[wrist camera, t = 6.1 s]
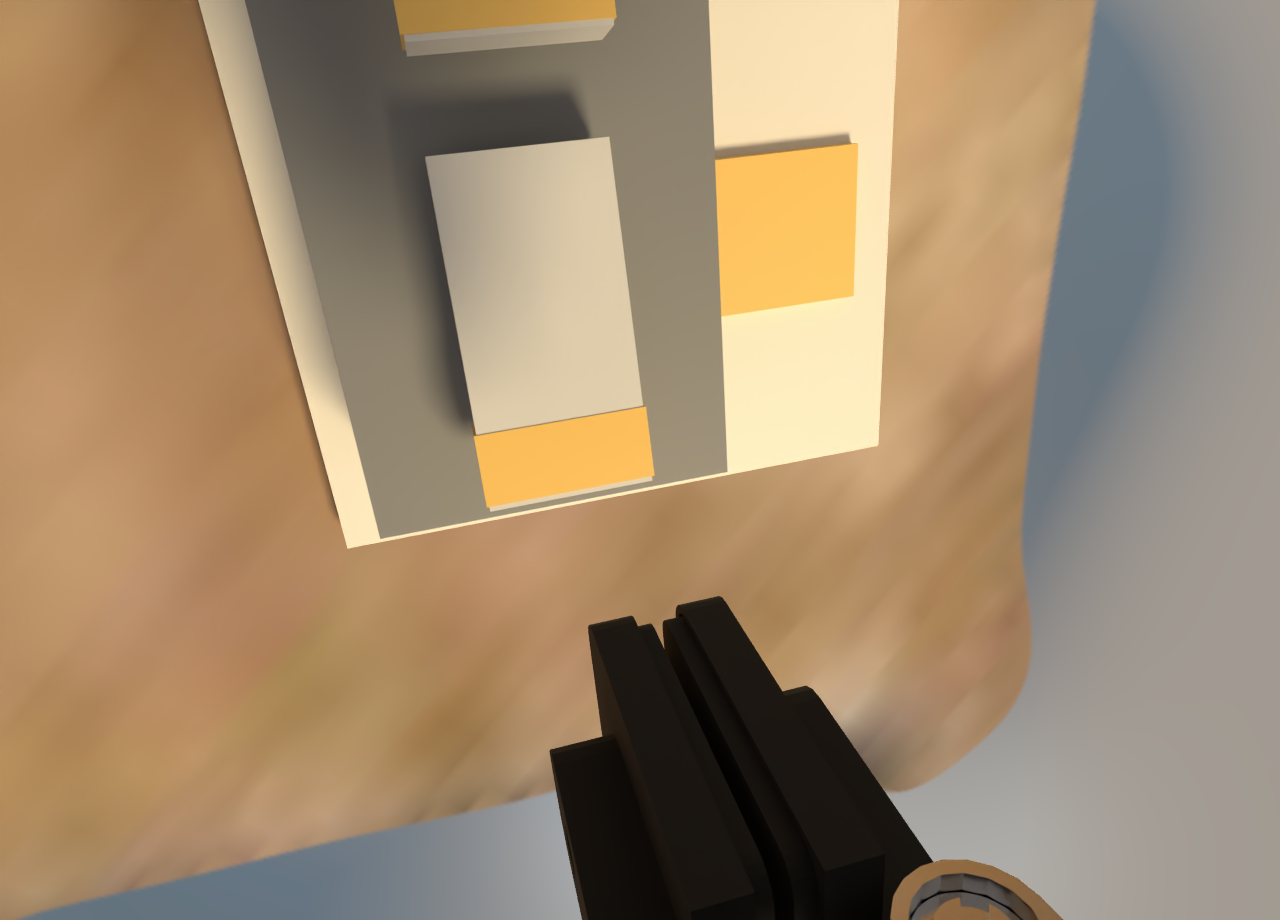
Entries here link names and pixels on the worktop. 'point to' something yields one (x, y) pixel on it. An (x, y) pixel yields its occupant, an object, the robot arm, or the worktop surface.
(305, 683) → the worktop surface
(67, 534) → the worktop surface
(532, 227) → the plate
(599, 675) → the robot arm
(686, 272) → the switch unit
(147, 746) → the worktop surface
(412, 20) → the block
